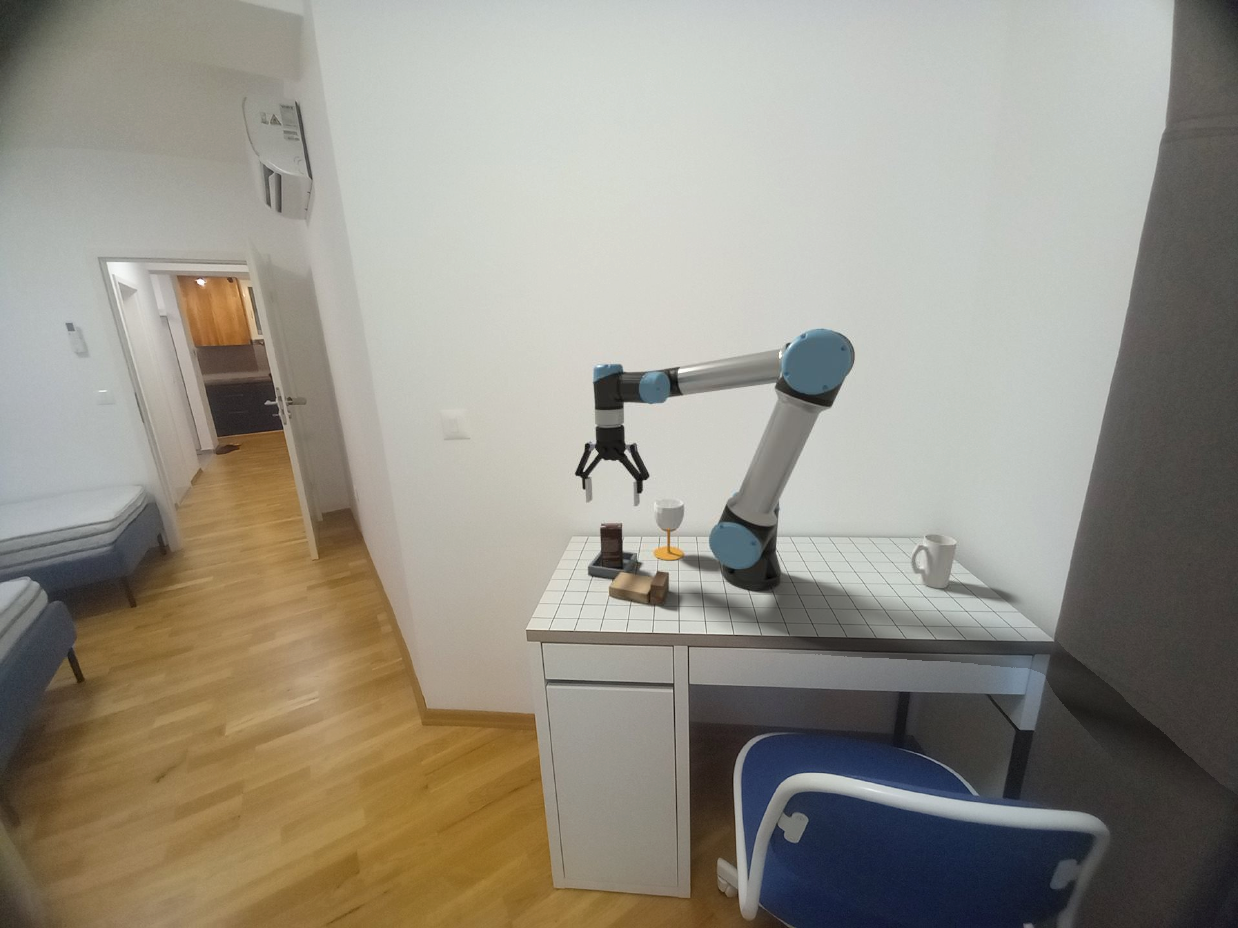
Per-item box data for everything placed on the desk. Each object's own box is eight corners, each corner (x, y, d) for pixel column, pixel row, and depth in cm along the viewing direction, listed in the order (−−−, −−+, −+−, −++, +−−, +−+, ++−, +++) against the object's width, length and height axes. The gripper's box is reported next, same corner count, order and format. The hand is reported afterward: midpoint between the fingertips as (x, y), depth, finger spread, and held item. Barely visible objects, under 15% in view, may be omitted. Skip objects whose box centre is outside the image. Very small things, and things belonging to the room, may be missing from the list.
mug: (936, 575, 118) (943, 533, 115) (955, 588, 112) (963, 544, 109) (898, 576, 118) (905, 534, 115) (915, 590, 111) (923, 545, 108)
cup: (690, 555, 132) (691, 503, 128) (666, 563, 128) (667, 510, 124) (670, 544, 140) (670, 495, 136) (647, 552, 135) (647, 502, 131)
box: (623, 561, 128) (622, 522, 125) (622, 569, 124) (622, 528, 120) (602, 561, 128) (600, 522, 125) (601, 569, 124) (599, 528, 121)
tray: (637, 560, 129) (637, 553, 129) (625, 580, 119) (624, 571, 118) (602, 556, 133) (602, 548, 132) (588, 574, 122) (587, 566, 121)
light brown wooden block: (657, 588, 115) (657, 578, 114) (647, 605, 108) (647, 594, 107) (621, 582, 119) (620, 571, 118) (609, 597, 112) (608, 586, 111)
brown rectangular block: (668, 590, 113) (668, 572, 112) (662, 604, 107) (662, 586, 106) (657, 588, 114) (657, 570, 113) (650, 602, 108) (650, 584, 107)
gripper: (660, 423, 115) (660, 501, 120) (571, 421, 123) (575, 495, 128) (653, 428, 108) (654, 511, 113) (559, 426, 116) (564, 503, 121)
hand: (612, 502), depth 121 cm, fingers open, 13 cm apart
